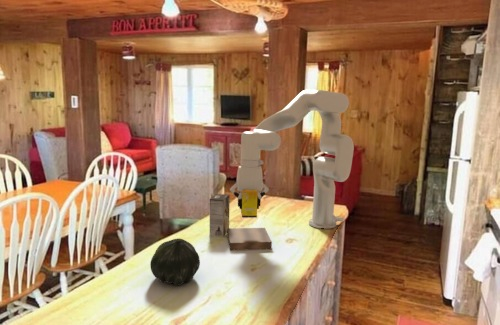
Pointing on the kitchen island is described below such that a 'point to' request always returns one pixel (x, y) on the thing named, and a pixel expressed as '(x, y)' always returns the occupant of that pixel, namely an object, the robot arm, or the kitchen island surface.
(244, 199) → the supplement box
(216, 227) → the coffee box
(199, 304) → the kitchen island surface
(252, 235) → the base
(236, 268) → the kitchen island surface
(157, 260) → the squash
